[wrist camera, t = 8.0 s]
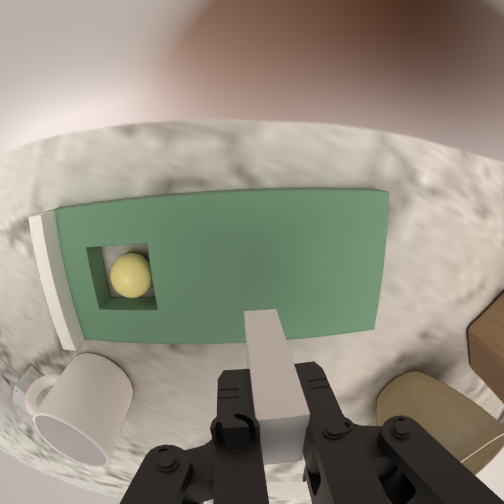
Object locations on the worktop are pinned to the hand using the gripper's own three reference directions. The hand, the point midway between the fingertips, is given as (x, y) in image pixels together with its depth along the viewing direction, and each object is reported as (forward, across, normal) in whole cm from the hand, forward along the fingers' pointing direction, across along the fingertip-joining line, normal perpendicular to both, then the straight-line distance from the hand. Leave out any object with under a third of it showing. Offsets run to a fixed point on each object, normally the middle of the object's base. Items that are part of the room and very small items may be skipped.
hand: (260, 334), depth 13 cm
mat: (+11, -3, 0) cm, 11 cm away
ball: (+9, -9, 0) cm, 13 cm away
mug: (+11, -19, -13) cm, 26 cm away
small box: (+12, -29, -17) cm, 36 cm away
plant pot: (+10, +19, -19) cm, 29 cm away
